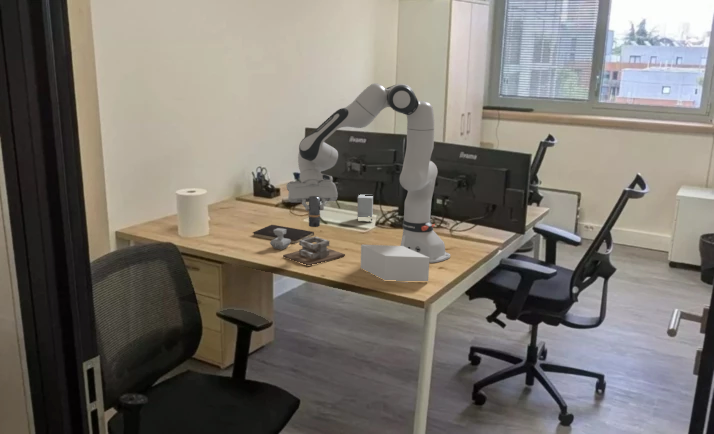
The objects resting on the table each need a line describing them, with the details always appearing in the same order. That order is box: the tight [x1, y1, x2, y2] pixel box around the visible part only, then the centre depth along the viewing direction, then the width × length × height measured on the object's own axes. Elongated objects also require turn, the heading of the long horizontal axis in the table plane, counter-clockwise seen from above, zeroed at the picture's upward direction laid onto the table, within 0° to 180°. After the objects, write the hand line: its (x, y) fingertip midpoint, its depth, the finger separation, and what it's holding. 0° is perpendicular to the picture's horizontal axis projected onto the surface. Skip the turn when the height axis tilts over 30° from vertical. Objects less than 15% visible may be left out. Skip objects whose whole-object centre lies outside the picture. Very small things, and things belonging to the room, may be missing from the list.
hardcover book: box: [252, 224, 315, 244], centre depth 302 cm, size 16×23×2 cm
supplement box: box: [357, 194, 374, 218], centre depth 329 cm, size 7×7×13 cm
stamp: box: [269, 228, 292, 250], centre depth 283 cm, size 9×7×8 cm
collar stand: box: [282, 235, 346, 265], centre depth 273 cm, size 16×20×7 cm
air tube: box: [308, 196, 321, 228], centre depth 269 cm, size 5×5×12 cm
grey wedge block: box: [360, 244, 430, 282], centre depth 252 cm, size 14×29×10 cm, turn 60°
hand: (314, 209), depth 268 cm, fingers closed on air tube, 4 cm apart
